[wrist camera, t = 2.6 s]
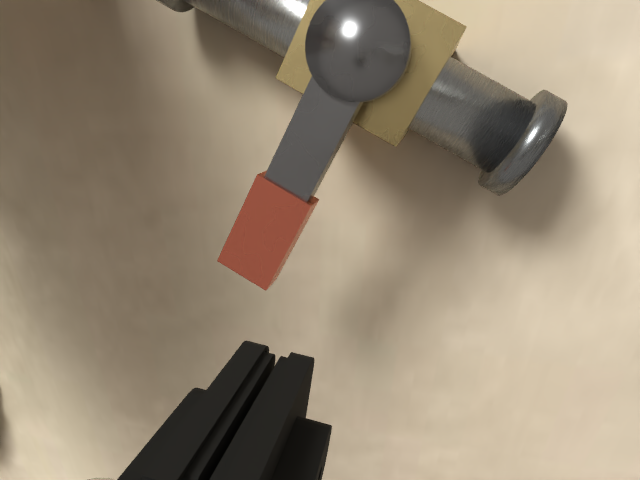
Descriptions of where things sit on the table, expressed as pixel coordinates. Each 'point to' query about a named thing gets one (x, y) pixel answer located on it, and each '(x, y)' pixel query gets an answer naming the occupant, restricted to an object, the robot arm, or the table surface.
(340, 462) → the table surface
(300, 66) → the pipe and valve body
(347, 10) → the valve lever
